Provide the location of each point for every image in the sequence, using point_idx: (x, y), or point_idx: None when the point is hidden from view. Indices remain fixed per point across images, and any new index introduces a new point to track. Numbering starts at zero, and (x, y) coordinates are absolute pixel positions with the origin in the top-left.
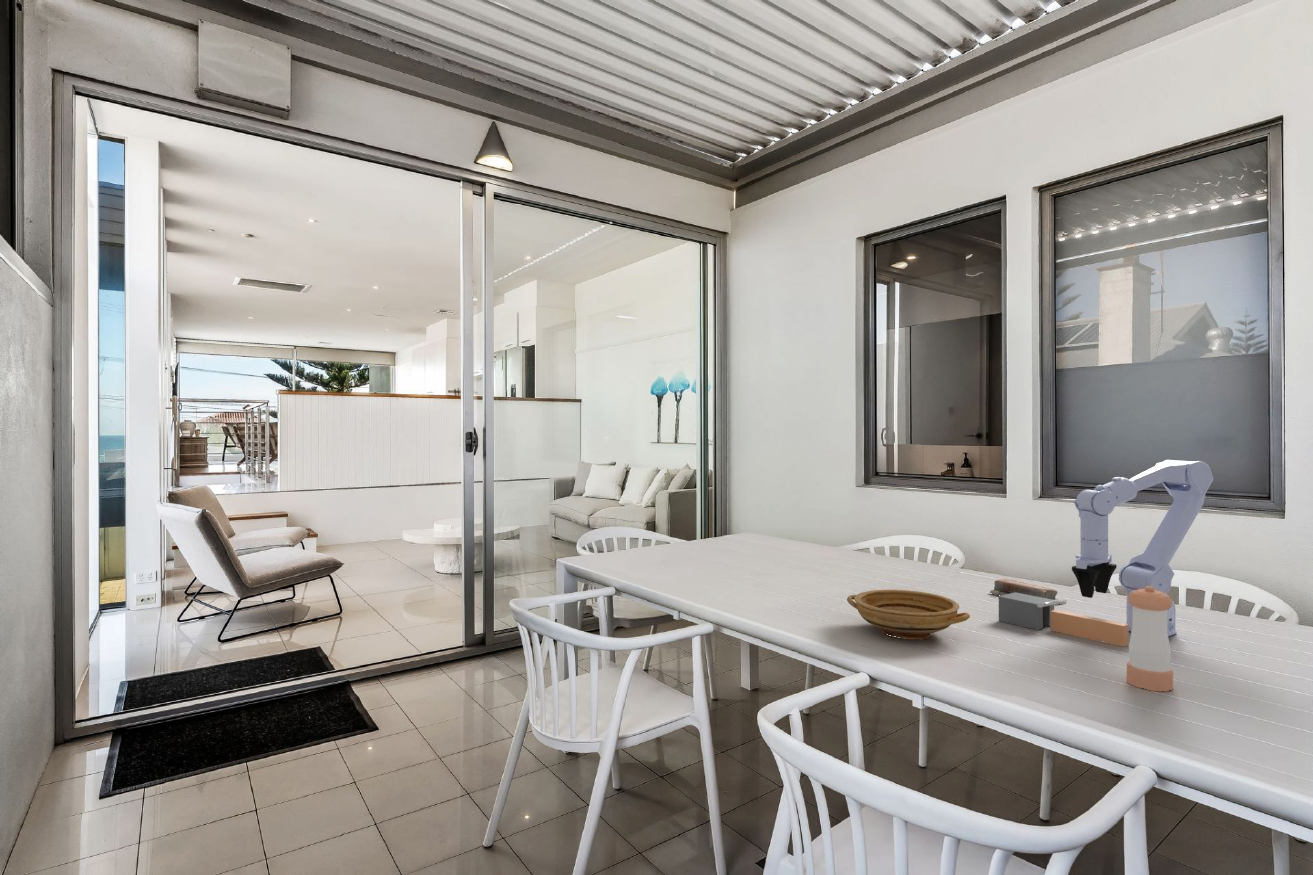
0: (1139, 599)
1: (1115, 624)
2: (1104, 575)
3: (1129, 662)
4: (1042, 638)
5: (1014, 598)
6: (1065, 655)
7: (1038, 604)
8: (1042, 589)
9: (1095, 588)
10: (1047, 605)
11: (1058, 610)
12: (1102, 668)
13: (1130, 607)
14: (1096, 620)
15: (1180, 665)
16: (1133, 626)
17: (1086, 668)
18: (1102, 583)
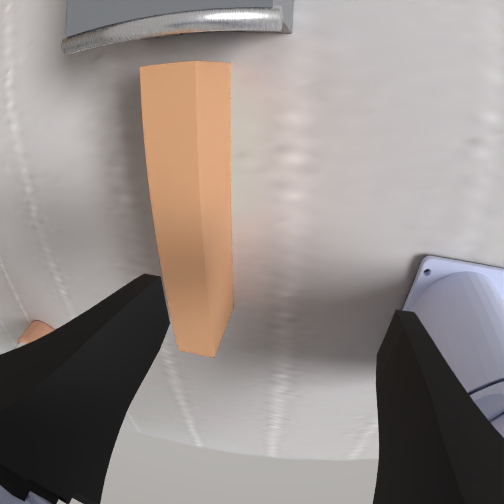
0: None
1: (174, 331)
2: (390, 478)
3: (21, 342)
4: (73, 112)
5: None
6: (27, 222)
7: (65, 40)
8: None
9: (401, 326)
10: (139, 38)
11: (189, 82)
12: (38, 289)
13: (445, 352)
14: (164, 278)
15: (174, 380)
16: None
17: (18, 270)
18: (391, 405)
